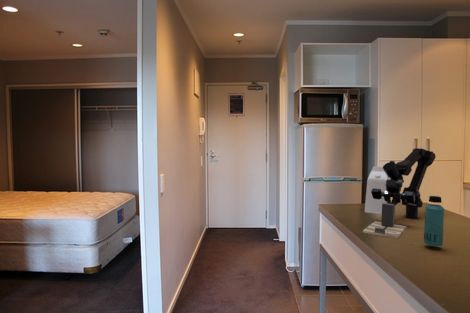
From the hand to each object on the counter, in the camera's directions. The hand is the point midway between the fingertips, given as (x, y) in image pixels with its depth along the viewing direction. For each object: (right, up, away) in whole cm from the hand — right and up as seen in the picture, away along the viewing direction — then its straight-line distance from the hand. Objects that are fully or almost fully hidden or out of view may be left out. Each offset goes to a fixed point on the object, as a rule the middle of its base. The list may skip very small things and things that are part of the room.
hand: (389, 209), depth 153 cm
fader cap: (-2, -7, -2) cm, 8 cm away
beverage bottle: (+3, -10, -29) cm, 31 cm away
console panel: (-5, -9, -6) cm, 11 cm away
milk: (+9, -7, +33) cm, 35 cm away
